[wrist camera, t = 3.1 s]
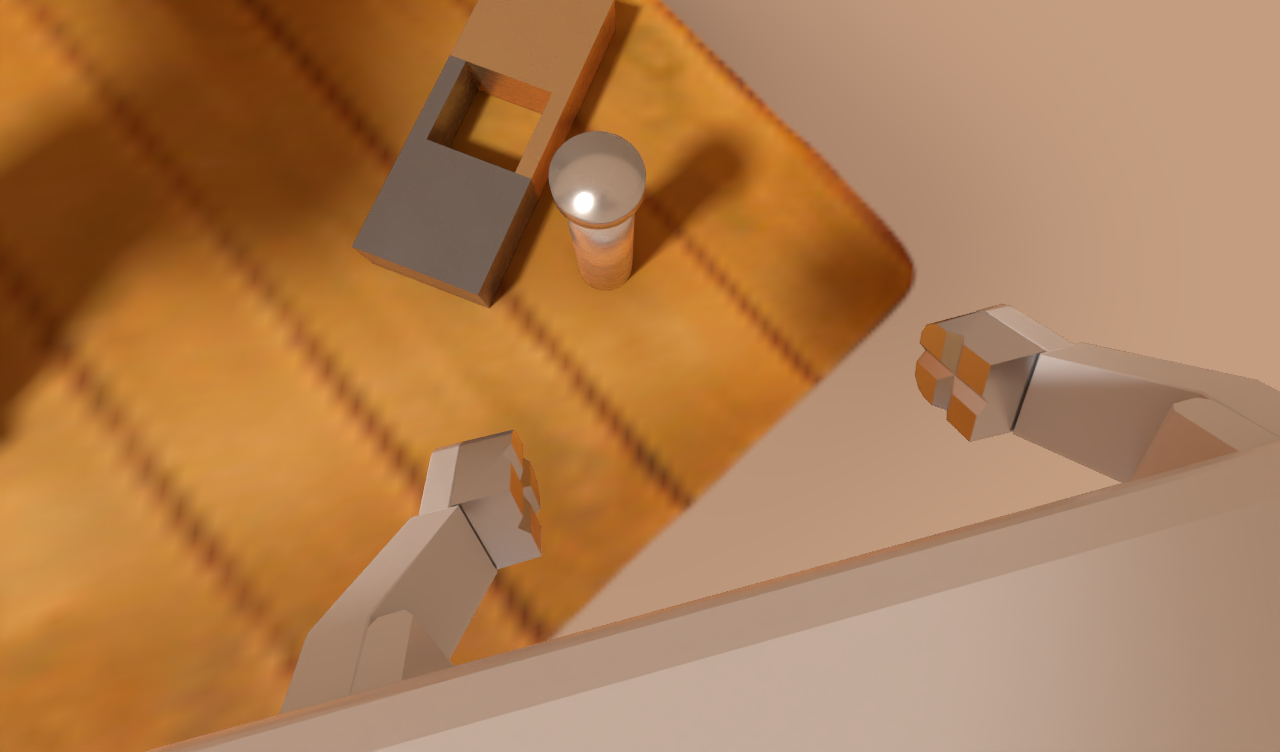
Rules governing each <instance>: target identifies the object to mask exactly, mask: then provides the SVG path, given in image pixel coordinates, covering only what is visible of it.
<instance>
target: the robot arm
mask: <svg viewBox="0 0 1280 752" xmlns="http://www.w3.org/2000/svg"><path fill="white" fill-rule="evenodd" d="M920 344H921V345H922V346H923V347H924V349H925V352H924V353H923V354H922V355H921V357H920V358H919V359H918V360H917V363H916V372H915V377H916V381H917V385H918V388H919V390H920V392H921V393H922V395H923V396H924V398H925V399H926V400H927V401H928V402H929V403H930V404H931V405H933V406H935V407H938V408H941V409H944V410H947V420H948V422H950V423H951V424H952V425H953V426H954V427H955V428H956V429H957V430H958V431H959V432H960V433H961V434H962V435H963V436H964V437H965V438H966V439H967V440H968V441H969V442H972V441H976V440H980V439H984V438H989V437H993V436H996V435H1001V434H1005V433H1009V432H1013V434H1014V435H1016V436H1019V437H1021V438H1023V439H1025V440H1028V441H1030V442H1032V443H1035V444H1037V445H1039V446H1042V447H1043V448H1046V449H1048V450H1050V451H1052V452H1054V453H1057V454H1059V455H1061V456H1064V457H1066V458H1068V459H1070V460H1072V461H1075V462H1077V463H1079V464H1081V465H1084V466H1086V467H1088V468H1090V469H1093V470H1095V471H1097V472H1099V473H1102V474H1104V475H1106V476H1108V477H1110V478H1113V479H1115V480H1117V481H1119V482H1121V484H1117V485H1114V486H1110V487H1106V488H1103V489H1099V490H1095V491H1092V492H1089V493H1084V494H1081V495H1077V496H1074V497H1070V498H1066V499H1063V500H1059V501H1056V502H1052V503H1048V504H1044V505H1041V506H1037V507H1034V508H1030V509H1026V510H1023V511H1019V512H1016V513H1012V514H1008V515H1004V516H1001V517H997V518H994V519H990V520H986V521H983V522H979V523H975V524H972V525H968V526H965V527H961V528H957V529H954V530H950V531H946V532H943V533H939V534H935V535H932V536H929V537H924V538H921V539H917V540H914V541H910V542H906V543H903V544H899V545H895V546H892V547H888V548H884V549H881V550H877V551H873V552H870V553H866V554H862V555H859V556H855V557H851V558H848V559H845V560H840V561H837V562H833V563H830V564H826V565H822V566H819V567H815V568H811V569H808V570H804V571H800V572H797V573H793V574H789V575H786V576H782V577H778V578H775V579H771V580H768V581H764V582H760V583H757V584H753V585H749V586H745V587H742V588H738V589H735V590H731V591H727V592H724V593H720V594H716V595H713V596H709V597H705V598H702V599H698V600H694V601H691V602H687V603H683V604H680V605H676V606H673V607H669V608H666V609H662V610H658V611H654V612H651V613H647V614H643V615H640V616H636V617H633V618H629V619H626V620H622V621H618V622H614V623H610V624H607V625H603V626H600V627H596V628H592V629H589V630H585V631H582V632H578V633H574V634H570V635H567V636H563V637H559V638H556V639H552V640H548V641H545V642H541V643H538V644H534V645H530V646H527V647H523V648H519V649H516V650H512V651H508V652H505V653H501V654H497V655H494V656H490V657H486V658H483V659H479V660H476V661H472V662H468V663H465V664H461V665H457V666H454V665H453V664H452V663H451V661H450V658H451V656H452V654H453V653H454V651H455V649H456V647H457V645H458V643H459V642H460V640H461V638H462V636H463V634H464V632H465V630H466V629H467V627H468V625H469V623H470V621H471V619H472V618H473V616H474V614H475V612H476V610H477V608H478V607H479V605H480V603H481V601H482V599H483V597H484V596H485V594H486V592H487V590H488V588H489V586H490V585H491V583H492V581H493V579H494V577H495V575H496V573H497V571H496V570H497V569H500V568H503V567H507V566H510V565H513V564H517V563H520V562H524V561H527V560H530V559H534V558H537V557H540V556H542V550H541V526H540V524H539V522H538V519H537V517H536V513H537V512H538V510H539V509H540V496H539V490H538V485H537V480H536V477H535V474H534V470H533V468H532V465H531V463H530V461H528V460H526V459H524V458H523V444H522V442H521V440H520V438H519V436H518V434H517V432H516V431H514V430H511V431H507V432H502V433H498V434H494V435H489V436H485V437H481V438H476V439H472V440H468V441H464V442H462V443H456V444H452V445H448V446H444V447H440V448H436V449H435V450H434V451H433V453H432V454H431V459H430V463H429V468H428V473H427V478H426V483H425V488H424V492H423V497H422V502H421V507H420V512H419V516H415V517H411V518H410V519H409V520H408V521H407V522H406V524H405V525H404V526H403V527H402V528H401V529H400V530H399V531H398V532H397V534H396V535H395V536H394V537H393V538H392V539H391V540H390V541H389V543H388V544H387V545H386V546H385V547H384V548H383V549H382V550H381V552H380V553H379V554H378V555H377V556H376V557H375V558H374V559H373V561H372V562H371V563H370V564H369V565H368V566H367V567H366V568H365V570H364V571H363V572H362V573H361V574H360V575H359V576H358V577H357V578H356V580H355V581H354V582H353V583H352V584H351V585H350V586H349V587H348V589H347V590H346V591H345V592H344V593H343V594H342V595H341V596H340V598H339V599H338V600H337V601H336V602H335V603H334V604H333V605H332V607H331V608H330V609H329V610H328V611H327V612H326V613H325V614H324V616H323V617H322V618H321V619H320V620H319V621H318V622H317V623H316V625H315V626H314V627H313V628H312V629H311V630H310V631H309V632H308V634H307V637H306V640H305V642H304V645H303V648H302V651H301V654H300V657H299V660H298V663H297V666H296V668H295V671H294V674H293V677H292V680H291V683H290V686H289V689H288V692H287V695H286V697H285V700H284V703H283V706H282V709H281V712H280V714H279V715H275V716H271V717H268V718H264V719H260V720H257V721H253V722H250V723H246V724H242V725H239V726H235V727H231V728H228V729H224V730H221V731H217V732H213V733H210V734H206V735H202V736H199V737H195V738H191V739H188V740H184V741H181V742H177V743H173V744H170V745H166V746H162V747H159V748H155V749H151V750H148V751H144V752H1280V391H1278V390H1276V389H1274V388H1272V387H1270V386H1268V385H1266V384H1264V383H1262V382H1260V381H1258V380H1255V379H1251V378H1246V377H1242V376H1237V375H1232V374H1228V373H1223V372H1218V371H1214V370H1209V369H1204V368H1199V367H1195V366H1190V365H1185V364H1181V363H1176V362H1171V361H1167V360H1162V359H1157V358H1153V357H1148V356H1143V355H1139V354H1134V353H1129V352H1125V351H1120V350H1115V349H1111V348H1106V347H1101V346H1097V345H1092V344H1087V343H1079V344H1073V343H1072V342H1070V341H1068V340H1067V339H1065V338H1063V337H1062V336H1060V335H1058V334H1057V333H1055V332H1054V331H1052V330H1050V329H1048V328H1047V327H1045V326H1044V325H1042V324H1040V323H1039V322H1037V321H1035V320H1034V319H1032V318H1030V317H1029V316H1027V315H1026V314H1024V313H1022V312H1021V311H1019V310H1017V309H1016V308H1014V307H1012V306H1010V305H1005V304H999V305H996V306H992V307H989V308H985V309H982V310H978V311H976V312H974V313H969V314H966V315H962V316H958V317H954V318H950V319H946V320H943V321H939V322H935V323H931V324H927V325H926V326H925V328H924V330H923V331H922V335H921V340H920Z"/></svg>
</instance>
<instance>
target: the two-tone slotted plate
mask: <svg viewBox="0 0 1280 752" xmlns="http://www.w3.org/2000/svg"><path fill="white" fill-rule="evenodd" d="M615 30H616V29H615V0H478V2H477V4H476V6H475V8H474V10H473V12H472V14H471V16H470V18H469V20H468V22H467V23H466V25H465V27H464V29H463V31H462V33H461V35H460V37H459V39H458V41H457V43H456V45H455V47H454V49H453V51H452V53H451V55H450V57H449V59H448V60H447V62H446V64H445V66H444V68H443V70H442V72H441V74H440V76H439V78H438V80H437V82H436V84H435V86H434V88H433V90H432V92H431V94H430V96H429V97H428V99H427V101H426V103H425V105H424V107H423V109H422V111H421V113H420V115H419V117H418V119H417V121H416V123H415V125H414V127H413V129H412V131H411V133H410V134H409V136H408V138H407V140H406V142H405V144H404V146H403V148H402V150H401V152H400V154H399V156H398V158H397V160H396V162H395V164H394V166H393V168H392V170H391V171H390V173H389V175H388V177H387V179H386V181H385V183H384V185H383V187H382V189H381V191H380V193H379V195H378V197H377V199H376V201H375V203H374V205H373V206H372V208H371V210H370V212H369V214H368V216H367V218H366V220H365V222H364V224H363V226H362V228H361V230H360V232H359V234H358V236H357V238H356V240H355V242H354V243H353V245H352V247H353V248H354V249H355V250H357V251H358V252H359V253H360V254H362V255H363V256H364V257H365V258H367V259H368V260H369V261H370V262H372V263H373V264H376V265H378V266H381V267H384V268H386V269H389V270H391V271H394V272H397V273H399V274H402V275H404V276H407V277H410V278H412V279H415V280H417V281H420V282H423V283H425V284H428V285H430V286H433V287H436V288H438V289H441V290H443V291H446V292H448V293H451V294H454V295H456V296H459V297H461V298H464V299H467V300H469V301H472V302H474V303H477V304H480V305H482V306H485V307H487V308H489V307H490V305H491V303H492V301H493V298H494V296H495V294H496V292H497V290H498V287H499V285H500V283H501V281H502V279H503V276H504V274H505V272H506V270H507V268H508V265H509V263H510V261H511V259H512V257H513V254H514V252H515V250H516V248H517V246H518V243H519V241H520V239H521V237H522V235H523V232H524V230H525V228H526V226H527V224H528V221H529V219H530V217H531V215H532V213H533V210H534V208H535V206H536V204H537V202H538V199H539V197H540V195H541V193H542V191H543V188H544V186H545V184H546V182H547V180H548V177H549V167H550V163H551V161H552V158H553V156H554V155H555V153H556V151H557V150H558V149H559V148H560V147H561V146H562V145H563V144H564V142H565V140H566V138H567V136H568V134H569V131H570V129H571V127H572V125H573V123H574V120H575V118H576V116H577V114H578V112H579V109H580V107H581V105H582V103H583V101H584V98H585V96H586V94H587V92H588V90H589V87H590V85H591V83H592V81H593V79H594V76H595V74H596V72H597V70H598V68H599V65H600V63H601V61H602V59H603V57H604V54H605V52H606V50H607V48H608V46H609V43H610V41H611V39H612V37H613V35H614V32H615ZM477 90H479V91H482V92H484V93H487V94H490V95H493V96H495V97H498V98H501V99H503V100H506V101H509V102H511V103H514V104H517V105H520V106H522V107H525V108H528V109H530V110H533V111H536V112H538V113H541V114H542V116H541V118H540V120H539V122H538V124H537V126H536V128H535V131H534V133H533V135H532V137H531V139H530V141H529V143H528V146H527V148H526V150H525V152H524V154H523V156H522V158H521V161H520V163H519V165H518V167H517V169H516V171H515V172H512V171H509V170H507V169H504V168H501V167H499V166H496V165H493V164H491V163H488V162H485V161H483V160H480V159H477V158H475V157H472V156H469V155H467V154H464V153H461V152H459V151H456V150H453V149H451V148H449V146H450V144H451V142H452V140H453V138H454V136H455V134H456V132H457V130H458V128H459V126H460V124H461V122H462V120H463V118H464V116H465V114H466V112H467V110H468V108H469V106H470V104H471V102H472V100H473V98H474V96H475V94H476V92H477Z"/></svg>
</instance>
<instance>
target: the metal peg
mask: <svg viewBox="0 0 1280 752" xmlns="http://www.w3.org/2000/svg"><path fill="white" fill-rule="evenodd" d="M645 183H646V171H645V166H644V163H643V160H642V158H641V156H640V154H639V152H638V151H637V150H636V149H635V147H634V146H633V145H632V144H631V143H629V142H628V141H627V140H625V139H623V138H622V137H620V136H618V135H615V134H612V133H608V132H602V131H592V132H586V133H582V134H579V135H576V136H574V137H572V138H571V139H569V140H567V141H566V142H565V143H564V144H563V145H562V146H561V147H560V148H559V149H558V150H557V151H556V153H555V155H554V156H553V158H552V161H551V163H550V167H549V184H550V189H551V192H552V196H553V199H554V202H555V204H556V206H557V208H558V209H559V211H560V212H561V213H562V214H563V215H564V216H565V217H566V218H567V219H568V223H569V228H570V232H571V236H572V241H573V245H574V249H575V254H576V258H577V262H578V267H579V271H580V274H581V276H582V278H583V279H584V281H585V282H586V283H587V284H589V285H590V286H591V287H593V288H596V289H599V290H612V289H616V288H618V287H620V286H621V285H623V284H624V283H625V282H626V281H627V280H628V278H629V277H630V275H631V272H632V265H633V241H634V217H635V213H636V211H637V210H638V208H639V207H640V205H641V203H642V200H643V197H644V193H645Z"/></svg>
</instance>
